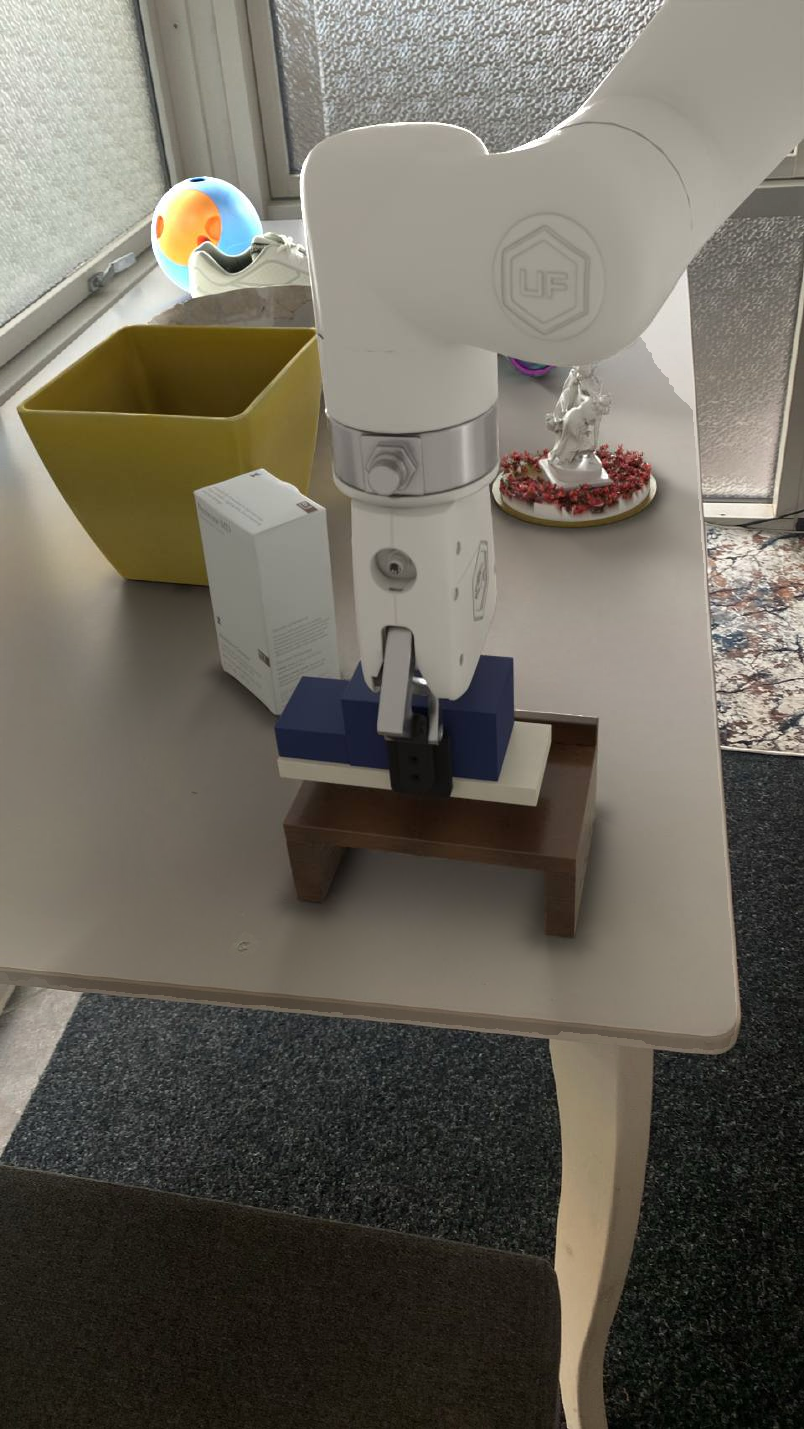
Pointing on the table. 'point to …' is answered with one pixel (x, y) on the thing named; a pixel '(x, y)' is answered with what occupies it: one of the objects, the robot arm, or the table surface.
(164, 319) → the ceramic bowl
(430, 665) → the robot arm
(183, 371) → the flower pot
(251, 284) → the running shoe
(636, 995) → the table surface
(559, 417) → the figurine
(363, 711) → the navy stepped block
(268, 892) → the table surface
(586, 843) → the shelf
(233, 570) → the cosmetic box
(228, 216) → the treat dispenser ball
